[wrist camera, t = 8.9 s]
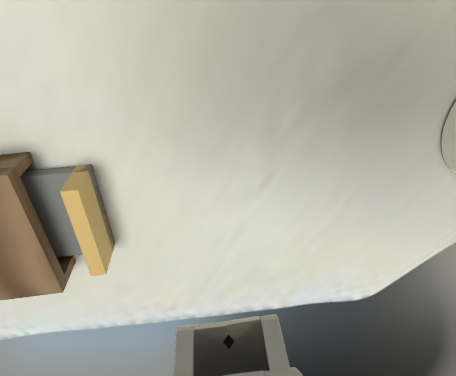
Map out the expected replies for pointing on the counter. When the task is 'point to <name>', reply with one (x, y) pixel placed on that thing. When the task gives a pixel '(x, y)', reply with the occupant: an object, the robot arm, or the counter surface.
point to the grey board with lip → (72, 213)
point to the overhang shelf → (25, 239)
